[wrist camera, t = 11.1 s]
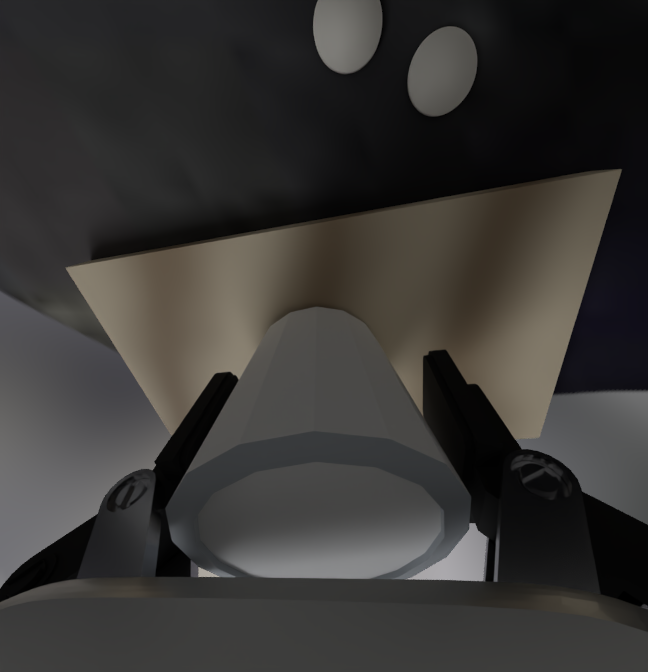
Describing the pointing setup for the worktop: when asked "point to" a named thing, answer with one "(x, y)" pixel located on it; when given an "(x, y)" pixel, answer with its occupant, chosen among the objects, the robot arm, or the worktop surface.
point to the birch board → (372, 292)
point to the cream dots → (426, 66)
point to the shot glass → (319, 465)
